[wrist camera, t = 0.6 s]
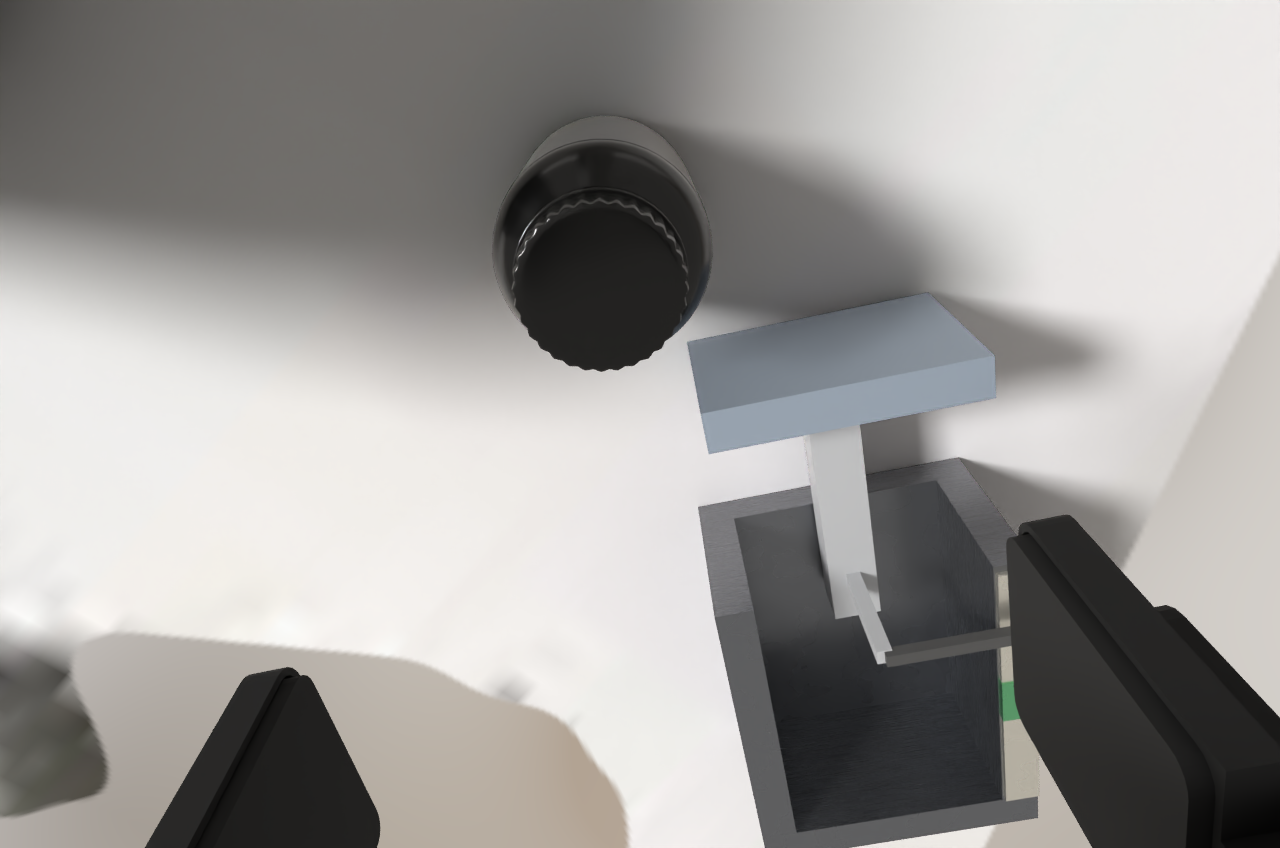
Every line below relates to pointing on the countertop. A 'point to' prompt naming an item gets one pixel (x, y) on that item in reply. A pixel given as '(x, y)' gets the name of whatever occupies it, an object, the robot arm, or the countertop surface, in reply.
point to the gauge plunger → (845, 424)
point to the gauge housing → (871, 666)
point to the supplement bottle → (602, 244)
